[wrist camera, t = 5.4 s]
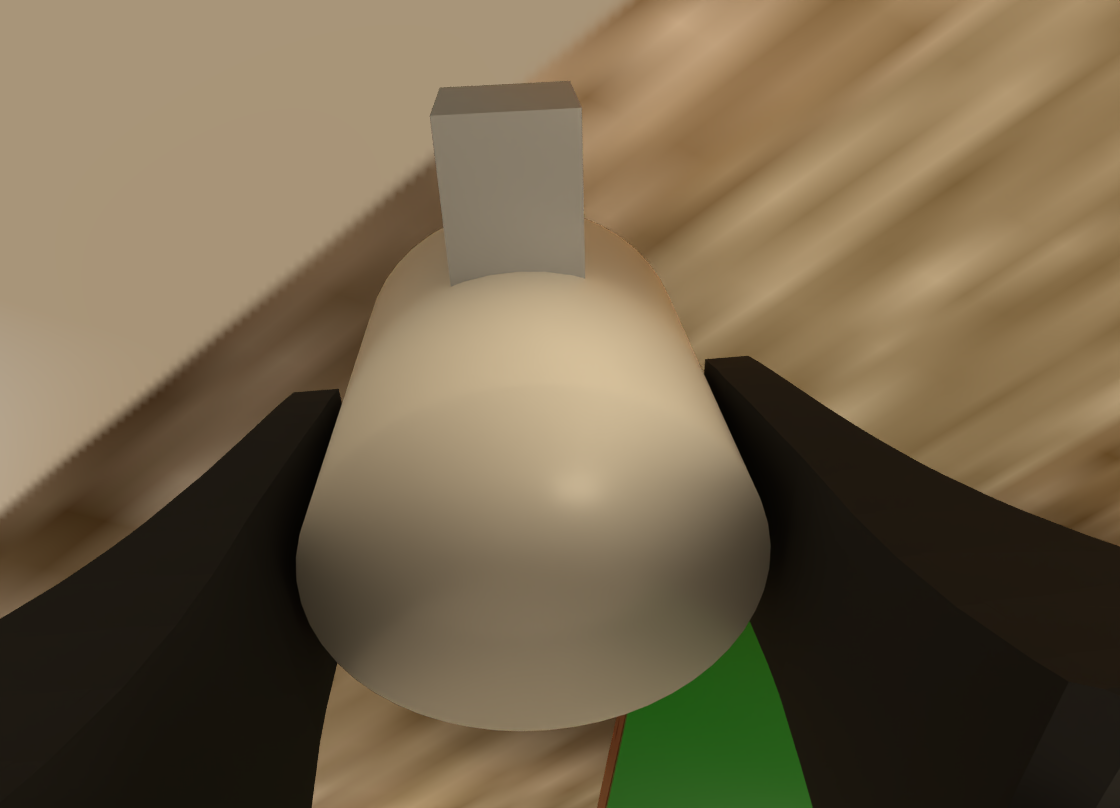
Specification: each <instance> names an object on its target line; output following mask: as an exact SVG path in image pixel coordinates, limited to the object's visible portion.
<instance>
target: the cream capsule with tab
mask: <svg viewBox="0 0 1120 808" xmlns="http://www.w3.org/2000/svg"><path fill="white" fill-rule="evenodd" d="M430 121H431V129H432V138H433V146H434V154H435V162H436V171H437V179H438V187H439V195H440V203H441V212H442V220H443V228H441V229H440V230H438V231H436V232H434V233H433V234H431V235H429V236H428V237H427V238H425V239H424V240H423V241H421V242H420V243H419V244H418V245H416V246H415V247H414V248H412V249H411V251H410V252H409V253H408V254H407V255H406V256H405V257H404V258H403V259H402V260H401V261H400V262H399V263H398V264H397V265H396V267H395V268H394V269H393V271H392V272H391V274H390V275H389V276H388V278H387V279H386V281H385V283H384V285H383V287H382V288H381V290H380V292H379V294H378V296H377V299H376V301H375V304H374V307H373V310H372V313H371V316H370V319H369V322H368V325H367V328H366V331H365V334H364V337H363V340H362V344H361V347H360V350H359V353H358V356H357V359H356V362H355V365H354V368H353V371H352V374H351V377H350V380H349V384H348V387H347V390H346V393H345V396H344V399H343V402H342V405H341V408H340V411H339V414H338V417H337V420H336V424H335V427H334V430H333V433H332V436H331V439H330V442H329V445H328V448H327V451H326V454H325V457H324V460H323V464H322V467H321V470H320V473H319V476H318V479H317V482H316V485H315V488H314V491H313V494H312V497H311V500H310V503H309V507H308V510H307V513H306V516H305V519H304V522H303V525H302V528H301V531H300V535H299V541H298V547H297V553H296V581H297V586H298V591H299V595H300V600H301V604H302V607H303V609H304V612H305V614H306V617H307V619H308V622H309V624H310V626H311V628H312V629H313V631H314V632H315V634H316V636H317V637H318V639H319V641H320V642H321V644H322V645H323V646H324V648H325V649H326V650H327V651H328V652H329V654H330V655H331V656H332V657H333V658H334V660H335V661H336V662H337V663H338V664H339V665H340V666H341V667H343V668H344V669H345V670H346V671H347V672H348V673H349V674H350V675H351V676H352V677H354V678H355V679H356V680H358V681H359V682H360V683H362V684H363V685H365V686H366V687H367V688H369V689H370V690H372V691H373V692H375V693H376V694H378V695H380V696H382V697H384V698H386V699H387V700H389V701H391V702H393V703H395V704H397V705H399V706H401V707H404V708H406V709H409V710H411V711H413V712H416V713H418V714H421V715H424V716H427V717H431V718H434V719H437V720H440V721H444V722H448V723H453V724H457V725H462V726H467V727H473V728H481V729H489V730H500V731H542V730H554V729H562V728H571V727H577V726H582V725H587V724H591V723H596V722H601V721H604V720H608V719H611V718H614V717H618V716H621V715H625V714H627V713H630V712H632V711H635V710H637V709H640V708H643V707H645V706H648V705H650V704H652V703H654V702H656V701H658V700H660V699H662V698H664V697H666V696H668V695H670V694H672V693H673V692H675V691H677V690H678V689H680V688H681V687H683V686H685V685H686V684H688V683H689V682H691V681H693V680H694V679H695V678H697V677H698V676H699V675H700V674H702V673H703V672H704V671H705V670H707V669H708V668H709V667H711V666H712V665H713V664H714V663H715V662H716V661H717V660H718V659H719V658H720V657H721V656H722V655H723V654H724V653H725V652H726V651H727V650H728V649H729V648H730V647H731V646H732V644H733V643H734V642H735V641H736V639H737V638H738V637H739V636H740V634H741V633H742V632H743V631H744V629H745V627H746V626H747V624H748V622H749V621H750V619H751V617H752V616H753V614H754V612H755V611H756V608H757V606H758V604H759V601H760V599H761V596H762V594H763V591H764V588H765V584H766V580H767V576H768V571H769V565H770V549H771V544H770V536H769V527H768V521H767V518H766V515H765V512H764V508H763V505H762V502H761V499H760V497H759V495H758V492H757V490H756V488H755V486H754V484H753V481H752V479H751V477H750V475H749V473H748V470H747V468H746V466H745V464H744V461H743V459H742V457H741V455H740V453H739V450H738V448H737V446H736V444H735V442H734V439H733V437H732V435H731V433H730V431H729V428H728V426H727V424H726V422H725V419H724V417H723V415H722V413H721V411H720V408H719V406H718V404H717V402H716V400H715V397H714V395H713V393H712V391H711V388H710V386H709V384H708V382H707V380H706V377H705V375H704V373H703V371H702V369H701V366H700V364H699V362H698V360H697V357H696V355H695V353H694V351H693V349H692V346H691V344H690V342H689V340H688V338H687V335H686V333H685V331H684V329H683V326H682V324H681V322H680V320H679V318H678V315H677V313H676V311H675V309H674V307H673V304H672V302H671V300H670V298H669V296H668V294H667V292H666V290H665V288H664V286H663V284H662V282H661V280H660V278H659V277H658V275H657V274H656V272H655V271H654V270H653V268H652V267H651V265H650V264H649V263H648V262H647V261H646V260H645V259H644V257H643V256H642V255H641V254H640V253H639V252H638V251H637V250H636V249H635V248H634V247H632V246H631V245H630V244H629V243H627V242H626V241H625V240H624V239H622V238H621V237H620V236H618V235H617V234H615V233H613V232H612V231H610V230H608V229H607V228H605V227H603V226H601V225H599V224H597V223H595V222H592V221H590V220H587V219H585V218H584V193H583V144H582V107H581V105H580V103H579V100H578V98H577V96H576V94H575V91H574V89H573V87H572V85H571V82H570V81H560V82H541V83H521V84H502V85H484V86H463V87H444V88H440V89H439V91H438V94H437V97H436V100H435V103H434V105H433V108H432V111H431V114H430Z"/></svg>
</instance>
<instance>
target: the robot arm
mask: <svg viewBox="0 0 1120 808" xmlns="http://www.w3.org/2000/svg"><path fill="white" fill-rule="evenodd" d="M704 375H705V377H706V380H707V382H708V384H709V386H710V388H711V391H712V393H713V395H714V397H715V400H716V402H717V404H718V406H719V408H720V411H721V413H722V415H723V417H724V419H725V422H726V424H727V426H728V428H729V431H730V433H731V435H732V437H733V439H734V442H735V444H736V446H737V448H738V450H739V453H740V455H741V457H742V459H743V461H744V464H745V466H746V468H747V470H748V473H749V475H750V477H751V479H752V481H753V484H754V486H755V488H756V490H757V492H758V495H759V497H760V499H761V502H762V505H763V508H764V512H765V515H766V518H767V521H768V527H769V536H770V544H771V549H770V565H769V571H768V576H767V580H766V584H765V588H764V591H763V594H762V596H761V599H760V601H759V604H758V606H757V608H756V611H755V612H754V614H753V616H752V617H751V619H750V623H751V626H752V628H753V630H754V633H755V635H756V637H757V640H758V642H759V644H760V647H761V649H762V651H763V654H764V656H765V659H766V661H767V663H768V666H769V669H770V671H771V674H772V677H773V679H774V682H775V685H776V687H777V690H778V693H779V696H780V699H781V702H782V705H783V709H784V712H785V715H786V718H787V722H788V725H789V728H790V732H791V735H792V738H793V741H794V745H795V748H796V751H797V755H798V758H799V761H800V765H801V768H802V772H803V775H804V779H805V782H806V786H807V789H808V793H809V796H810V800H811V803H812V807H813V808H1120V547H1119V546H1117V545H1114V544H1111V543H1108V542H1105V541H1102V540H1099V539H1096V538H1093V537H1090V536H1087V535H1085V534H1082V533H1079V532H1077V531H1074V530H1072V529H1069V528H1066V527H1064V526H1061V525H1059V524H1056V523H1053V522H1051V521H1048V520H1046V519H1043V518H1040V517H1038V516H1035V515H1032V514H1030V513H1027V512H1025V511H1022V510H1020V509H1018V508H1015V507H1013V506H1011V505H1008V504H1006V503H1003V502H1001V501H999V500H996V499H994V498H992V497H990V496H988V495H985V494H983V493H981V492H979V491H977V490H975V489H973V488H971V487H968V486H966V485H964V484H962V483H960V482H958V481H956V480H954V479H951V478H949V477H947V476H945V475H943V474H941V473H939V472H937V471H935V470H933V469H931V468H929V467H927V466H925V465H923V464H921V463H920V462H918V461H916V460H914V459H912V458H910V457H909V456H907V455H905V454H903V453H902V452H900V451H898V450H896V449H895V448H893V447H891V446H889V445H887V444H886V443H884V442H882V441H880V440H879V439H877V438H875V437H874V436H872V435H870V434H869V433H867V432H865V431H864V430H862V429H860V428H859V427H857V426H855V425H854V424H852V423H851V422H849V421H847V420H846V419H844V418H843V417H841V416H840V415H838V414H836V413H835V412H833V411H832V410H830V409H829V408H827V407H826V406H824V405H823V404H821V403H820V402H818V401H817V400H815V399H814V398H812V397H811V396H809V395H808V394H806V393H805V392H803V391H802V390H800V389H799V388H797V387H796V386H794V385H793V384H791V383H790V382H788V381H787V380H785V379H784V378H782V377H781V376H779V375H778V374H776V373H775V372H773V371H772V370H770V369H769V368H767V367H766V366H764V365H763V364H761V363H759V362H758V361H756V360H754V359H753V358H751V357H749V356H741V357H728V358H716V359H705V370H704ZM341 405H342V402H341V397H340V393H339V389H332V390H319V391H307V392H295V393H293V394H292V395H290V396H289V397H288V398H286V399H285V400H284V401H283V402H282V403H281V404H280V405H278V406H277V407H276V408H275V409H274V410H273V411H272V412H271V413H270V414H269V415H268V416H266V417H265V418H264V419H263V420H262V421H261V422H260V423H259V424H258V425H257V426H256V427H255V428H254V429H253V430H251V431H250V432H249V433H248V434H247V435H246V436H245V437H244V438H243V439H242V440H241V441H240V442H239V443H237V444H236V445H235V446H234V447H233V448H232V449H231V450H230V451H229V452H228V453H226V454H225V455H224V456H223V457H222V458H221V459H220V460H219V461H218V462H217V463H215V464H214V465H213V466H212V467H211V468H210V469H209V470H208V471H207V472H206V473H204V474H203V475H202V476H201V477H200V478H199V479H197V480H196V481H195V482H194V483H192V484H191V485H190V486H189V487H188V488H186V489H185V490H184V491H183V492H182V493H180V494H179V495H178V496H177V497H176V498H174V499H173V500H172V501H171V502H169V503H168V504H167V505H166V506H165V507H163V508H162V509H161V510H160V511H159V512H157V513H156V514H155V515H154V516H153V517H151V518H150V519H149V520H148V521H147V522H145V523H144V524H143V525H141V526H140V527H139V528H137V529H136V530H135V531H133V532H132V533H131V534H130V535H128V536H127V537H125V538H124V539H123V540H121V541H120V542H119V543H117V544H116V545H115V546H113V547H112V548H110V549H109V550H108V551H106V552H105V553H103V554H102V555H100V556H99V557H97V558H96V559H94V560H93V561H92V562H90V563H89V564H87V565H86V566H84V567H83V568H81V569H80V570H78V571H77V572H76V573H74V574H73V575H71V576H70V577H68V578H67V579H65V580H64V581H62V582H60V583H59V584H57V585H56V586H54V587H53V588H51V589H49V590H48V591H46V592H44V593H43V594H41V595H39V596H38V597H36V598H34V599H33V600H31V601H29V602H28V603H26V604H24V605H23V606H21V607H19V608H18V609H16V610H14V611H13V612H11V613H9V614H8V615H6V616H4V617H3V618H1V619H0V808H312V800H313V792H314V784H315V777H316V769H317V761H318V753H319V745H320V739H321V734H322V729H323V723H324V718H325V713H326V708H327V704H328V700H329V695H330V691H331V687H332V683H333V679H334V674H335V670H336V666H337V662H336V661H335V660H334V658H333V657H332V656H331V655H330V654H329V652H328V651H327V650H326V649H325V648H324V646H323V645H322V644H321V642H320V641H319V639H318V637H317V636H316V634H315V632H314V631H313V629H312V628H311V626H310V624H309V622H308V619H307V617H306V614H305V612H304V609H303V607H302V604H301V600H300V595H299V591H298V586H297V581H296V553H297V547H298V541H299V535H300V531H301V528H302V525H303V522H304V519H305V516H306V513H307V510H308V507H309V503H310V500H311V497H312V494H313V491H314V488H315V485H316V482H317V479H318V476H319V473H320V470H321V467H322V464H323V460H324V457H325V454H326V451H327V448H328V445H329V442H330V439H331V436H332V433H333V430H334V427H335V424H336V420H337V417H338V414H339V411H340V408H341Z"/></svg>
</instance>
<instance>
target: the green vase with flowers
mask: <svg viewBox="0 0 1120 808" xmlns="http://www.w3.org/2000/svg"><path fill="white" fill-rule="evenodd" d="M597 808H813V807H812V803H811V800H810V796H809V793H808V789H807V786H806V782H805V779H804V775H803V772H802V768H801V765H800V761H799V758H798V755H797V751H796V748H795V745H794V741H793V738H792V735H791V732H790V728H789V725H788V722H787V718H786V715H785V712H784V709H783V705H782V702H781V699H780V696H779V693H778V690H777V687H776V685H775V682H774V679H773V677H772V674H771V671H770V669H769V666H768V663H767V661H766V659H765V656H764V654H763V651H762V649H761V647H760V644H759V642H758V640H757V637H756V635H755V633H754V630H753V628H752V626H751V623H750V621H749V622H748V624H747V626H746V627H745V629H744V631H743V632H742V633H741V634H740V636H739V637H738V638H737V639H736V641H735V642H734V643H733V644H732V646H731V647H730V648H729V649H728V650H727V651H726V652H725V653H724V654H723V655H722V656H721V657H720V658H719V659H718V660H717V661H716V662H715V663H714V664H713V665H712V666H711V667H709V668H708V669H707V670H705V671H704V672H703V673H702V674H700V675H699V676H698V677H697V678H695V679H694V680H693V681H691V682H689V683H688V684H686V685H685V686H683V687H681V688H680V689H678V690H677V691H675V692H673V693H672V694H670V695H668V696H666V697H664V698H662V699H660V700H658V701H656V702H654V703H652V704H650V705H648V706H645V707H643V708H640V709H637V710H635V711H632V712H630V713H627V714H625V715H621V716H618V717H617V718H616V722H615V727H614V732H613V736H612V741H611V745H610V750H609V754H608V759H607V764H606V768H605V773H604V778H603V782H602V787H601V792H600V797H599V801H598V806H597Z"/></svg>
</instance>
